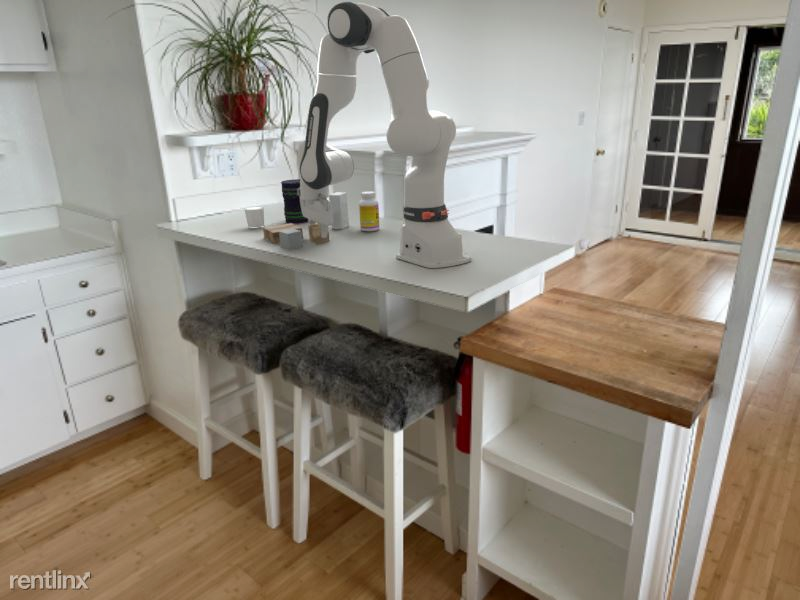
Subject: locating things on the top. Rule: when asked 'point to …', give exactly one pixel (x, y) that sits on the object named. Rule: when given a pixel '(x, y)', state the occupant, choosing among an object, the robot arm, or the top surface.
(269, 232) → the walnut block
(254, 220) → the shot glass
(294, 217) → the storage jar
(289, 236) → the grey cube
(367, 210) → the supplement bottle
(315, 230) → the oak cube
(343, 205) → the skincare box
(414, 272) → the top surface
